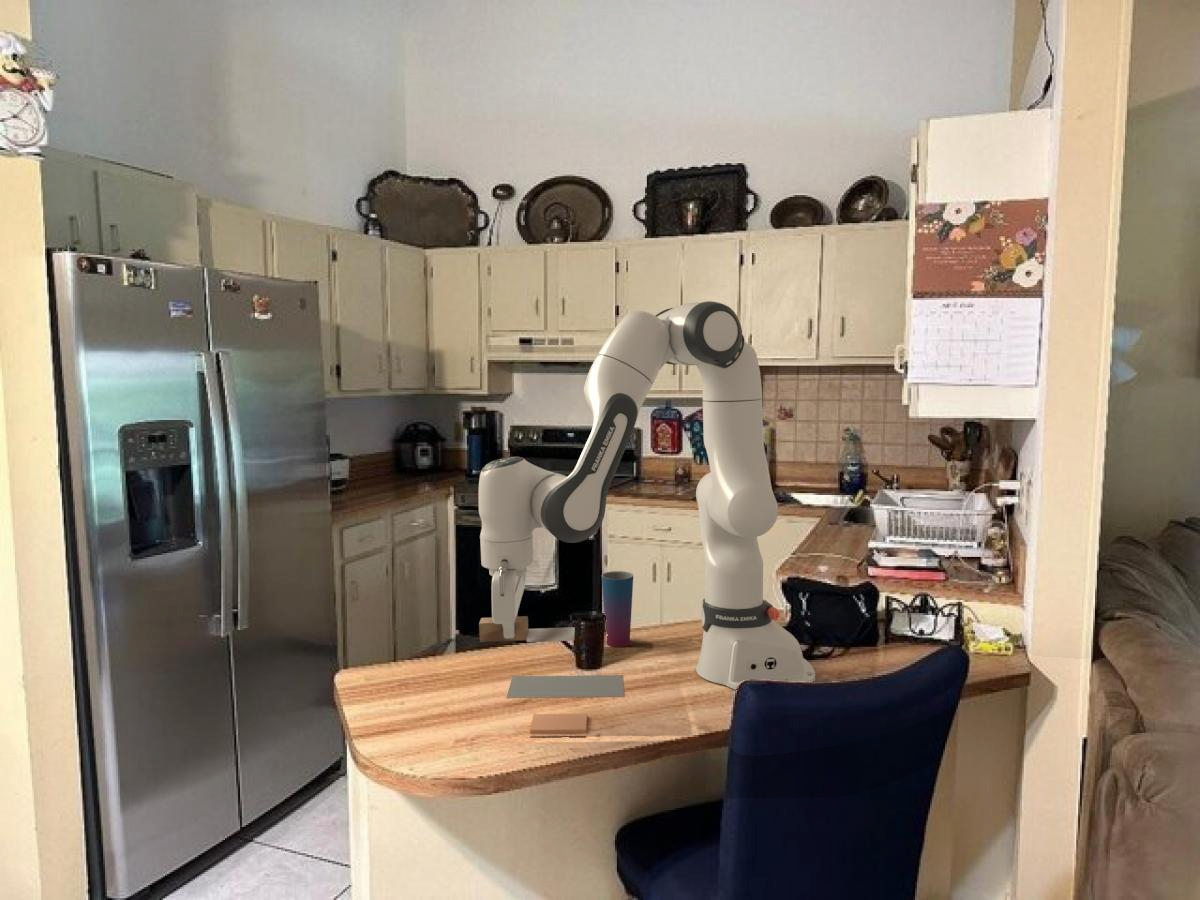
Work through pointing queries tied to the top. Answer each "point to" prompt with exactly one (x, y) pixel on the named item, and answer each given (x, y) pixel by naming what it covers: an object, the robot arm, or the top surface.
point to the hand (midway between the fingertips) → (510, 632)
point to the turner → (523, 632)
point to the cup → (617, 606)
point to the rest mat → (566, 686)
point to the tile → (558, 724)
